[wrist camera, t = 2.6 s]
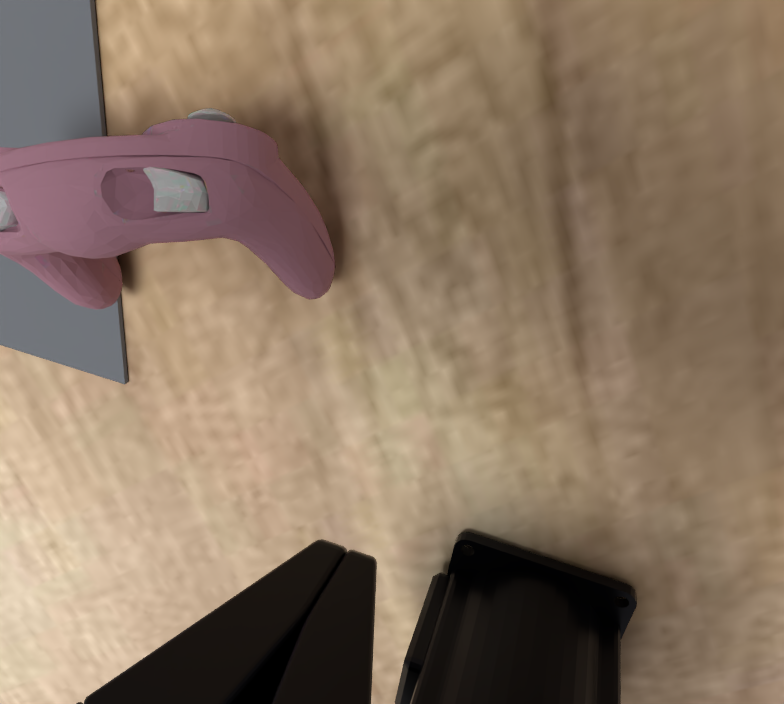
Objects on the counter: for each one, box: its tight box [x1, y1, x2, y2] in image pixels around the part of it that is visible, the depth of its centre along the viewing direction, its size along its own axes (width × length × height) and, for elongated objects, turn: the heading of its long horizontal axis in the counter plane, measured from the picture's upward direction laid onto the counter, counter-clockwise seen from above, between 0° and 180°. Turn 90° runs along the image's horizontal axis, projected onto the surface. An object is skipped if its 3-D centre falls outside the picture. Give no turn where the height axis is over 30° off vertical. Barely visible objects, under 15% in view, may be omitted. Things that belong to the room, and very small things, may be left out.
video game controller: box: [0, 108, 335, 309], centre depth 18 cm, size 10×5×7 cm, turn 99°
